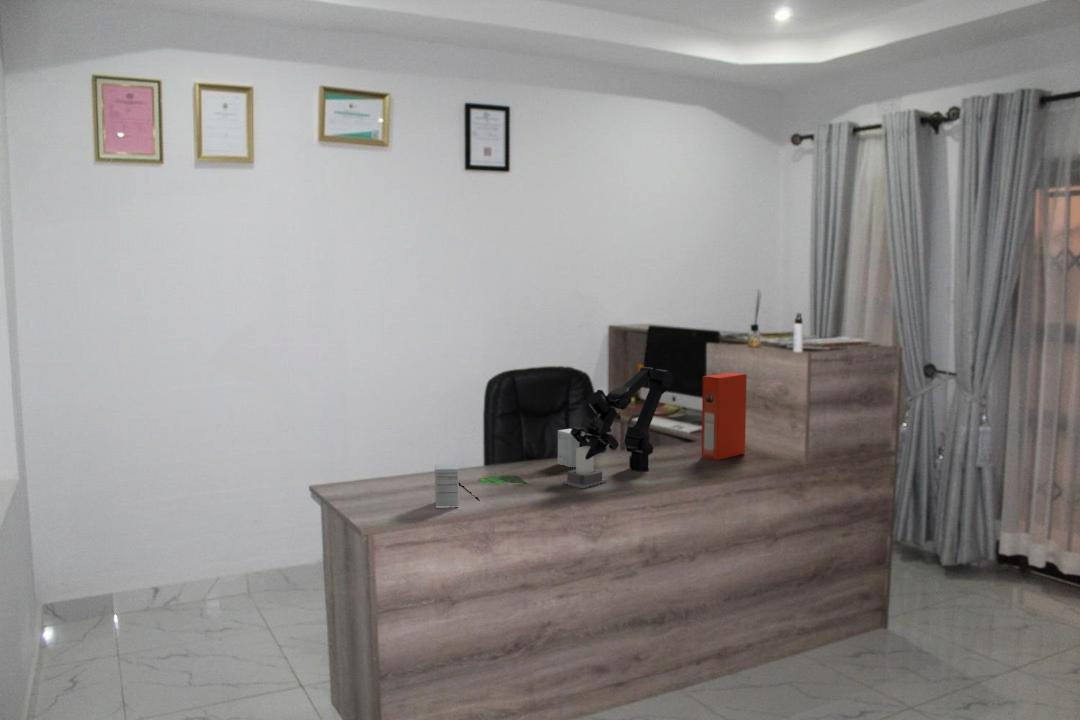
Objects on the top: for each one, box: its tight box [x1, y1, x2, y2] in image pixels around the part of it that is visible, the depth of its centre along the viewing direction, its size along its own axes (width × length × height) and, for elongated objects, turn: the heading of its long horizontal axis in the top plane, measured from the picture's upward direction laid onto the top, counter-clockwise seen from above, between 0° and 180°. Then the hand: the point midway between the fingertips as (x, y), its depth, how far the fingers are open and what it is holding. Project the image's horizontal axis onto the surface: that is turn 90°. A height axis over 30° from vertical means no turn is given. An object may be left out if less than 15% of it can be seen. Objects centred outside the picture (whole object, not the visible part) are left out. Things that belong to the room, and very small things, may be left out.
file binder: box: [701, 372, 747, 461], centre depth 338 cm, size 8×17×32 cm, turn 130°
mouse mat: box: [478, 475, 531, 486], centre depth 291 cm, size 27×22×1 cm
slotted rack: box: [562, 468, 607, 489], centre depth 298 cm, size 12×9×4 cm
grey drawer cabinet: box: [434, 463, 460, 507], centre depth 271 cm, size 7×7×13 cm
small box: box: [557, 428, 580, 469], centre depth 324 cm, size 8×6×13 cm
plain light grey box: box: [575, 446, 595, 475], centre depth 298 cm, size 5×4×10 cm
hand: (582, 457), depth 297 cm, fingers closed on plain light grey box, 3 cm apart
